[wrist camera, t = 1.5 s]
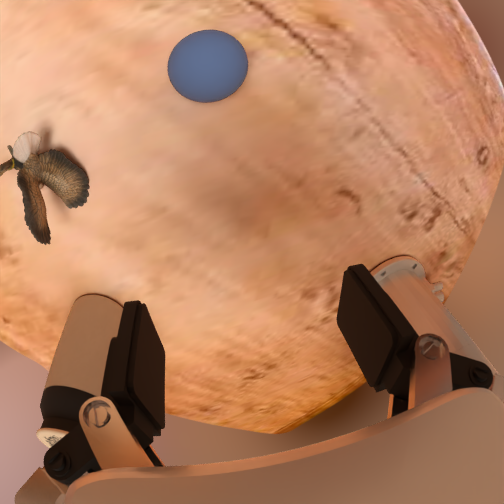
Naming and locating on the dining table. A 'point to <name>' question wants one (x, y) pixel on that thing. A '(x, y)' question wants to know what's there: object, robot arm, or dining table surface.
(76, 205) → the eagle figurine
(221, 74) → the ball
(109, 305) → the travel mug
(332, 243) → the dining table surface
